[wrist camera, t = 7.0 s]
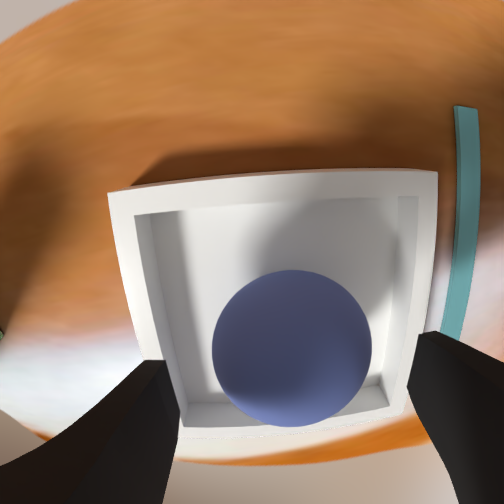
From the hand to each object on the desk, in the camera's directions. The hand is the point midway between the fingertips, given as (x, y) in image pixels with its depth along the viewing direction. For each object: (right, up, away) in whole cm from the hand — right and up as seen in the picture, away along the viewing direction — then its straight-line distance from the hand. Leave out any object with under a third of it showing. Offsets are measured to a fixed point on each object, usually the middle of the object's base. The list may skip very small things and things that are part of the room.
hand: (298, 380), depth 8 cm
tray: (0, +1, +4) cm, 4 cm away
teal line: (+8, +2, +4) cm, 9 cm away
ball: (0, +1, +1) cm, 2 cm away
